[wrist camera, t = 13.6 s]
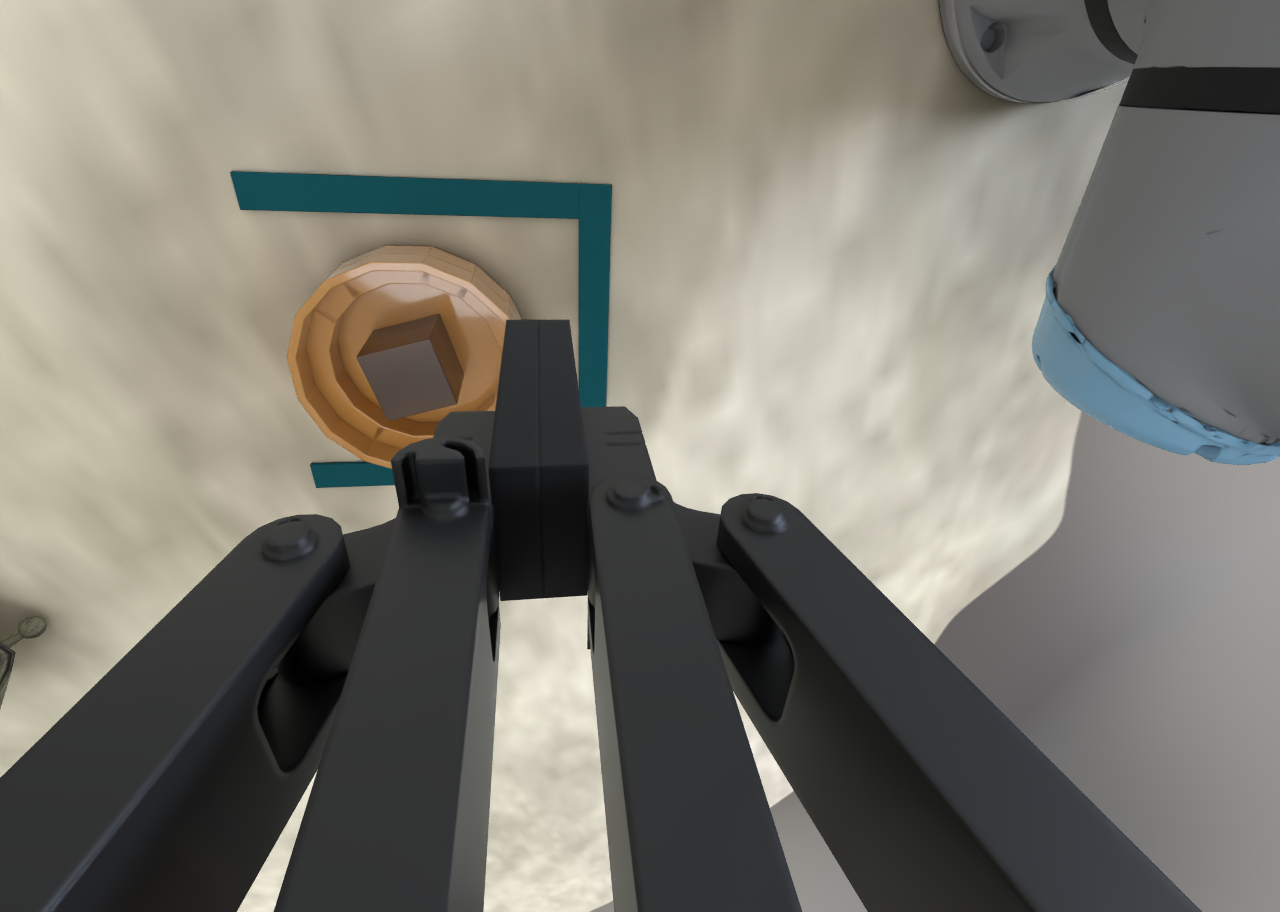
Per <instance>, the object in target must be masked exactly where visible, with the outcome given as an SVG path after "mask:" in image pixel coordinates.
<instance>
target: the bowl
mask: <svg viewBox="0 0 1280 912" xmlns="http://www.w3.org/2000/svg"><path fill="white" fill-rule="evenodd" d="M437 314H440V315H441V318H442V320H443V323H444V325H445V328H446V330H447V333H448V335H449V338H450V340H451V343H452V345H453V348H454V350H455V353H456V355H457V358H458V360H459V363H460V365H461V368H462V370H463V373H464V378H463V382H462V386H461V390H460V395H459V399H458V403H457V404H455V405H451V406H447V407H443V408H439V409H435V410H431V411H428V412H424V413H420V414H416V415H412V416H408V417H404V418H400V419H396V420H392V421H388V420H387V418H386V416H385V414H384V412H383V410H382V408H381V406H380V404H379V402H378V400H377V398H376V396H375V394H374V392H373V390H372V388H371V386H370V384H369V382H368V380H367V378H366V376H365V374H364V372H363V370H362V368H361V366H360V364H359V362H358V360H357V358H356V356H357V355H358V353H359V352H360V350H361V349H362V347H363V345H364V344H365V342H366V341H367V339H368V338H369V336H370V334H371V333H372V331H373V330H377V329H381V328H385V327H389V326H393V325H397V324H401V323H405V322H409V321H413V320H417V319H421V318H425V317H429V316H433V315H437ZM506 320H522V319H521V317H520V315H519V313H518V311H517V309H516V307H515V304H514V302H513V300H512V298H511V297H510V295H509V294H508V293H506V292H505V291H504V290H503V289H502V288H501V287H500V286H499V285H498V284H497V283H496V282H495V281H494V280H492V279H491V278H490V277H489V276H488V275H487V274H486V273H485V272H484V271H483V270H482V269H481V268H479V267H478V266H477V265H476V264H473V263H471V262H468V261H466V260H464V259H461V258H459V257H456V256H454V255H451V254H449V253H446V252H444V251H442V250H439V249H437V248H434V247H429V246H382V247H380V248H377V249H375V250H373V251H370V252H368V253H365V254H363V255H360V256H358V257H356V258H353V259H351V260H348V261H346V262H344V263H342V264H341V265H340V266H339V267H338V268H337V269H336V270H335V271H334V272H333V273H332V274H331V275H330V276H329V277H328V278H327V279H326V280H325V281H324V282H323V283H322V284H321V285H320V286H319V288H318V289H317V290H316V291H315V292H314V293H313V295H312V296H311V297H310V298H309V299H308V300H307V302H306V303H305V304H304V305H303V306H302V307H301V309H300V310H299V311H298V312H297V313H296V315H295V319H294V324H293V329H292V333H291V338H290V343H289V348H288V353H287V360H288V364H289V368H290V372H291V375H292V379H293V383H294V387H295V390H296V394H297V398H298V400H299V402H300V403H301V404H302V406H303V407H304V408H305V410H306V411H307V412H308V413H309V415H310V416H311V417H312V419H313V420H314V421H315V423H316V424H317V425H318V426H319V428H320V429H321V430H322V432H323V433H324V434H325V435H326V436H327V437H328V438H330V439H331V440H333V441H334V442H336V443H337V444H339V445H340V446H342V447H343V448H345V449H346V450H348V451H350V452H351V453H353V454H354V455H356V456H357V457H359V458H360V459H362V460H363V461H366V462H370V463H373V464H377V465H380V466H384V467H387V468H391V469H392V466H391V460H392V458H393V457H394V456H395V454H396V453H397V452H398V451H399V450H401V449H403V448H404V447H406V446H408V445H409V444H412V443H415V442H418V441H421V440H424V439H429V438H433V436H434V432H435V429H436V425H437V424H438V423H439V422H440V421H441V420H442V419H443V418H444V417H446V416H447V415H448V414H449V413H450V412H459V411H495V409H496V401H497V392H498V384H499V376H500V368H501V359H502V351H503V343H504V335H505V327H506Z"/></svg>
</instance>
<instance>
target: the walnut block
mask: <svg viewBox="0 0 1280 912" xmlns="http://www.w3.org/2000/svg"><path fill="white" fill-rule="evenodd" d="M356 358H357V360H358V362H359V364H360V366H361V368H362V370H363V372H364V374H365V376H366V378H367V380H368V382H369V384H370V386H371V388H372V390H373V392H374V394H375V396H376V398H377V400H378V402H379V404H380V406H381V408H382V410H383V412H384V414H385V416H386V418H387V420H388V421H392V420H396V419H400V418H404V417H408V416H412V415H416V414H420V413H424V412H428V411H431V410H435V409H439V408H443V407H447V406H451V405H455V404H457V403H458V399H459V395H460V390H461V386H462V382H463V378H464V373H463V370H462V368H461V365H460V363H459V360H458V358H457V355H456V353H455V350H454V348H453V345H452V343H451V340H450V338H449V335H448V333H447V330H446V328H445V325H444V323H443V320H442V318H441V315H440V314H437V315H433V316H429V317H425V318H421V319H417V320H413V321H409V322H405V323H401V324H397V325H393V326H389V327H385V328H381V329H377V330H373V331H372V333H371V334H370V336H369V338H368V339H367V341H366V342H365V344H364V345H363V347H362V349H361V350H360V352H359V353H358V355H357V356H356Z"/></svg>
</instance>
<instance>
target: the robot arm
mask: <svg viewBox="0 0 1280 912" xmlns="http://www.w3.org/2000/svg"><path fill="white" fill-rule="evenodd" d="M939 2H940V12H941V19H942V24H943V29H944V33H945V36H946V40H947V43H948V45H949V48H950V50H951V53H952V55H953V57H954V59H955V60H956V62H957V64H958V66H959V67H960V68H961V70H962V71H963V73H964V74H965V75H966V76H967V77H968V78H969V79H970V81H971V82H972V83H974V84H975V85H976V86H977V87H979V88H980V89H981V90H983V91H985V92H986V93H988V94H990V95H992V96H994V97H997V98H999V99H1003V100H1007V101H1013V102H1022V103H1049V102H1057V101H1061V100H1067V99H1072V98H1075V99H1078V98H1081V97H1084V96H1087V95H1090V94H1093V93H1096V92H1099V91H1102V90H1105V89H1108V88H1111V87H1114V86H1117V85H1119V84H1122V83H1124V82H1122V83H1119V84H1116V85H1113V86H1110V87H1107V88H1104V89H1101V88H1103V87H1105V86H1108V85H1110V84H1113V83H1115V82H1118V81H1120V80H1123V79H1125V78H1127V77H1130V78H1129V80H1128V83H1127V86H1126V89H1125V91H1124V94H1123V97H1122V99H1121V102H1120V104H1119V106H1118V108H1117V110H1116V113H1115V116H1114V118H1113V121H1112V123H1111V126H1110V129H1109V131H1108V134H1107V137H1106V139H1105V142H1104V144H1103V147H1102V150H1101V152H1100V155H1099V158H1098V160H1097V163H1096V165H1095V168H1094V171H1093V173H1092V176H1091V179H1090V181H1089V184H1088V186H1087V189H1086V192H1085V194H1084V197H1083V199H1082V202H1081V204H1080V207H1079V209H1078V212H1077V214H1076V217H1075V219H1074V222H1073V224H1072V227H1071V229H1070V232H1069V234H1068V237H1067V239H1066V242H1065V244H1064V247H1063V249H1062V252H1061V254H1060V257H1059V259H1058V262H1057V264H1056V265H1055V266H1054V268H1053V270H1052V271H1051V272H1050V273H1049V276H1048V278H1047V281H1046V298H1045V301H1044V304H1043V307H1042V310H1041V313H1040V316H1039V319H1038V322H1037V325H1036V328H1035V331H1034V335H1033V340H1032V351H1033V356H1034V359H1035V361H1036V364H1037V366H1038V368H1039V369H1040V370H1041V371H1042V374H1043V376H1044V378H1045V379H1046V381H1047V382H1048V383H1049V384H1050V385H1051V386H1052V388H1053V389H1054V390H1056V391H1057V392H1058V393H1059V394H1060V395H1061V396H1062V397H1063V398H1065V399H1066V400H1067V401H1068V402H1070V403H1071V404H1072V405H1074V406H1075V407H1077V408H1078V409H1080V410H1081V411H1083V412H1084V413H1086V414H1087V415H1089V416H1091V417H1093V418H1094V419H1096V420H1098V421H1100V422H1101V423H1103V424H1105V425H1107V426H1109V427H1111V428H1113V429H1115V430H1117V431H1119V432H1121V433H1123V434H1126V435H1128V436H1130V437H1132V438H1134V439H1137V440H1139V441H1142V442H1144V443H1147V444H1149V445H1152V446H1155V447H1158V448H1161V449H1164V450H1167V451H1170V452H1174V453H1177V454H1181V455H1189V454H1191V453H1193V452H1194V453H1196V454H1198V455H1200V456H1202V457H1204V458H1205V459H1207V460H1209V461H1211V462H1217V463H1223V464H1233V465H1250V464H1258V463H1266V462H1269V461H1272V460H1274V459H1276V458H1278V457H1280V0H939ZM1125 82H1127V81H1125ZM1098 89H1101V90H1098ZM1096 90H1098V91H1096ZM1093 91H1094V92H1093ZM1082 95H1083V96H1082ZM1079 96H1080V97H1079ZM1076 97H1078V98H1076ZM1075 99H1073V100H1075ZM1070 101H1072V100H1070ZM1068 102H1069V101H1068ZM391 466H392V471H393V476H394V482H395V487H396V492H397V497H398V503H399V510H398V513H397V516H396V518H395V519H393V520H391V521H388V522H386V523H384V524H381V525H378V526H375V527H372V528H368V529H364V530H360V531H356V532H352V533H348V534H344V535H343V533H342V530H341V526H340V525H339V524H338V523H337V522H335V521H334V520H333V519H332V518H328V517H324V516H321V515H317V514H315V515H295V516H290V517H285V518H282V519H278V520H275V521H273V522H271V523H268V524H266V525H264V526H262V527H259V528H258V529H257V530H255V531H254V532H252V533H251V534H250V535H248V536H247V537H246V538H244V539H243V540H242V541H241V542H240V543H239V544H238V545H237V546H236V547H235V548H234V549H233V550H232V551H231V552H230V553H229V554H228V555H227V556H226V557H225V558H224V559H223V560H222V561H221V562H220V563H219V564H218V565H217V566H216V567H215V568H214V569H213V570H212V571H211V572H210V573H209V574H208V575H207V576H206V577H205V578H204V579H203V580H202V581H201V582H200V583H199V584H197V585H196V586H195V587H194V588H193V589H192V590H191V591H190V592H189V593H188V594H187V595H186V596H185V597H184V598H183V599H182V600H181V601H180V602H179V603H178V604H177V605H176V606H175V607H174V608H173V609H172V610H171V611H170V612H169V613H168V614H167V615H166V616H165V617H164V618H163V619H162V620H161V621H160V622H159V623H158V624H157V625H156V626H155V627H154V628H153V629H152V630H151V631H150V632H149V633H148V634H147V635H146V636H145V637H143V638H142V639H141V640H140V641H139V642H138V643H137V644H136V645H135V646H134V647H133V648H132V649H131V650H130V651H129V652H128V653H127V654H126V655H125V656H124V657H123V658H122V659H121V660H120V661H119V662H118V663H117V664H116V665H115V666H114V667H113V668H112V669H111V670H110V671H109V672H108V673H107V674H106V675H105V676H104V677H103V678H102V679H101V680H100V681H99V682H98V683H97V684H96V685H95V686H94V687H93V688H92V689H91V690H89V691H88V692H87V693H86V694H85V695H84V696H83V697H82V698H81V699H80V700H79V701H78V702H77V703H76V704H75V705H74V706H73V707H72V708H71V709H70V710H69V711H68V712H67V713H66V714H65V715H64V716H63V717H62V718H61V719H60V720H59V721H58V722H57V723H56V724H55V725H54V726H53V727H52V728H51V729H50V730H49V731H48V732H47V733H46V734H45V735H44V736H43V737H42V738H41V739H40V740H39V741H38V742H37V743H35V744H34V745H33V746H32V747H31V748H30V749H29V750H28V751H27V752H26V753H25V754H24V755H23V756H22V757H21V758H20V759H19V760H18V761H17V762H16V763H15V764H14V765H13V766H12V767H11V768H10V769H9V770H8V771H7V772H6V773H5V774H4V775H3V776H2V777H1V778H0V912H237V910H238V908H239V907H240V905H241V903H242V901H243V900H244V898H245V896H246V894H247V893H248V891H249V889H250V887H251V885H252V884H253V882H254V880H255V878H256V877H257V875H258V873H259V871H260V870H261V868H262V866H263V864H264V863H265V861H266V859H267V857H268V856H269V854H270V852H271V850H272V849H273V847H274V845H275V843H276V842H277V840H278V838H279V836H280V835H281V833H282V831H283V829H284V827H285V826H286V824H287V822H288V820H289V819H290V817H291V815H292V813H293V812H294V810H295V808H296V806H297V805H298V803H299V801H300V799H301V798H302V796H303V794H304V792H305V791H306V789H307V787H308V785H309V784H310V782H311V780H312V778H313V777H314V775H315V773H316V771H317V769H318V771H317V774H316V777H315V780H314V784H313V787H312V790H311V793H310V796H309V800H308V803H307V806H306V809H305V813H304V816H303V819H302V822H301V825H300V829H299V832H298V835H297V838H296V842H295V845H294V848H293V851H292V854H291V858H290V861H289V864H288V867H287V871H286V874H285V877H284V880H283V883H282V887H281V890H280V893H279V896H278V899H277V903H276V906H275V909H274V912H483V907H484V890H485V874H486V857H487V841H488V824H489V808H490V791H491V775H492V759H493V742H494V726H495V709H496V693H497V676H498V660H499V644H500V627H501V623H500V612H499V590H500V600H501V601H507V600H523V599H538V598H554V597H569V596H585V595H587V590H588V642H587V649H591V659H592V670H593V681H594V692H595V703H596V714H597V726H598V737H599V748H600V759H601V770H602V781H603V792H604V803H605V814H606V825H607V836H608V847H609V858H610V869H611V880H612V891H613V902H614V912H802V910H801V906H800V903H799V901H798V897H797V894H796V891H795V887H794V884H793V881H792V878H791V875H790V872H789V868H788V865H787V862H786V859H785V856H784V852H783V849H782V846H781V843H780V840H779V837H778V833H777V831H776V827H775V824H774V821H773V817H772V814H771V811H770V808H769V805H768V802H767V798H766V795H765V792H764V789H763V786H762V783H761V779H760V776H759V773H758V770H757V767H756V763H755V760H754V757H753V754H752V751H751V748H750V744H749V741H748V738H747V735H746V732H745V729H744V725H743V722H742V719H741V716H740V713H739V709H738V706H737V703H736V700H735V697H734V694H733V691H734V693H735V695H736V696H737V698H738V700H739V701H740V703H741V705H742V706H743V708H744V709H745V711H746V713H747V714H748V716H749V718H750V719H751V721H752V723H753V724H754V726H755V727H756V729H757V731H758V732H759V734H760V736H761V737H762V739H763V741H764V742H765V744H766V746H767V747H768V749H769V750H770V752H771V754H772V755H773V757H774V759H775V760H776V762H777V764H778V765H779V767H780V768H781V770H782V772H783V773H784V775H785V777H786V778H787V780H788V782H789V783H790V785H791V786H792V788H793V790H794V791H795V793H796V795H797V796H798V798H799V799H800V801H801V803H802V804H803V806H804V808H805V809H806V811H807V813H808V814H809V816H810V818H811V819H812V821H813V823H814V824H815V826H816V827H817V829H818V831H819V832H820V834H821V836H822V837H823V839H824V841H825V842H826V844H827V845H828V847H829V849H830V850H831V852H832V854H833V855H834V857H835V859H836V860H837V862H838V863H839V865H840V866H841V868H842V870H843V872H844V873H845V875H846V877H847V878H848V880H849V882H850V883H851V885H852V886H853V888H854V890H855V891H856V893H857V895H858V896H859V898H860V899H861V901H862V903H863V905H864V906H865V908H866V909H867V911H868V912H1202V911H1201V910H1200V909H1199V908H1198V907H1197V906H1195V904H1194V903H1193V902H1192V901H1191V900H1190V899H1189V898H1188V897H1187V896H1185V894H1183V892H1182V891H1181V890H1180V889H1179V888H1178V887H1176V885H1175V884H1174V883H1173V882H1172V881H1171V880H1170V879H1168V877H1167V876H1166V875H1165V874H1164V873H1163V872H1162V871H1161V870H1160V869H1159V868H1158V867H1157V866H1156V865H1155V864H1154V863H1152V861H1151V860H1149V858H1147V856H1146V855H1145V854H1144V853H1143V852H1142V851H1141V850H1139V848H1138V847H1137V846H1135V845H1134V844H1133V842H1132V841H1131V840H1129V838H1127V836H1125V835H1124V834H1123V833H1122V832H1121V831H1120V830H1119V829H1118V828H1117V827H1116V826H1115V825H1114V824H1113V823H1112V822H1111V821H1110V820H1109V819H1108V818H1107V817H1106V816H1105V815H1104V814H1103V813H1102V812H1101V811H1100V810H1099V809H1098V808H1097V807H1096V806H1095V805H1094V804H1093V803H1092V802H1091V801H1090V800H1089V799H1088V798H1087V797H1086V796H1085V795H1084V794H1083V793H1082V792H1081V791H1080V790H1079V789H1078V788H1077V787H1076V786H1075V785H1074V784H1073V783H1072V782H1071V781H1070V780H1069V779H1068V778H1067V777H1066V776H1065V775H1064V774H1063V773H1062V772H1061V771H1060V770H1059V769H1058V768H1057V767H1056V766H1055V765H1054V764H1053V763H1052V762H1051V761H1050V760H1049V759H1048V758H1047V757H1046V756H1045V755H1044V754H1043V753H1042V752H1041V751H1040V750H1039V749H1038V748H1037V747H1036V746H1035V745H1034V744H1033V743H1032V742H1031V741H1030V740H1029V739H1028V738H1027V737H1026V736H1025V735H1024V734H1023V733H1022V732H1021V731H1020V730H1019V729H1018V728H1017V727H1016V726H1015V725H1014V724H1013V723H1012V722H1011V721H1010V720H1009V719H1008V718H1007V717H1006V716H1005V715H1004V714H1003V713H1002V712H1001V711H1000V710H999V709H998V708H997V707H996V706H995V705H994V704H993V703H992V702H991V701H990V700H989V699H988V698H987V697H986V696H985V695H984V694H983V693H982V692H981V691H980V690H979V689H978V688H977V687H976V686H975V685H974V684H973V683H972V682H971V681H970V680H969V679H968V678H967V677H966V676H965V675H964V674H963V673H962V672H961V671H960V670H959V669H958V668H957V667H956V666H955V665H954V664H953V663H952V662H951V661H950V660H949V659H948V658H947V657H946V656H945V655H944V654H943V653H942V652H941V651H940V650H939V649H938V648H937V647H936V646H935V645H934V644H933V643H932V642H931V641H930V640H929V639H928V638H927V637H926V636H925V635H924V634H923V633H922V632H921V631H920V630H919V629H918V628H917V627H916V626H915V625H914V624H913V623H912V622H911V621H910V620H909V619H908V618H907V617H906V616H905V615H904V614H903V613H902V612H901V611H900V610H899V609H898V608H897V607H896V606H895V605H894V604H893V603H892V602H891V601H890V600H889V599H888V598H887V597H886V596H885V595H884V594H883V593H882V592H881V591H880V590H879V589H878V588H877V587H876V586H875V585H874V584H873V583H872V582H871V581H870V580H869V579H868V578H867V577H866V576H865V575H864V574H863V573H862V572H861V571H860V570H859V569H858V568H857V567H856V566H855V565H854V564H853V563H852V562H851V561H850V560H849V559H848V558H847V557H846V556H845V555H844V554H843V553H842V552H841V551H840V550H839V549H838V548H837V547H836V546H835V545H834V544H833V543H832V542H831V541H830V540H829V539H828V538H827V537H826V536H825V535H824V534H823V533H822V532H821V531H820V530H819V529H818V528H817V527H816V526H815V525H814V524H813V523H812V522H811V521H810V520H809V519H808V518H807V517H806V516H805V515H804V514H803V513H802V512H800V511H799V510H798V509H797V508H795V507H794V506H793V505H791V504H790V503H789V502H787V501H784V500H782V499H779V498H777V497H774V496H770V495H764V494H758V493H754V494H741V495H739V496H736V497H733V498H730V499H729V500H728V501H727V502H726V503H725V504H724V505H723V506H722V510H721V515H720V514H714V513H708V512H702V511H697V510H693V509H689V508H686V507H683V506H681V505H678V504H676V503H674V502H673V500H672V497H671V494H670V493H669V491H668V490H667V488H666V487H665V486H664V485H662V484H661V483H659V482H657V481H656V477H655V474H654V471H653V467H652V464H651V460H650V457H649V454H648V450H647V447H646V445H645V440H644V437H643V434H642V430H641V427H640V423H639V420H638V418H637V417H636V416H635V415H634V414H633V413H632V412H630V411H629V410H628V409H627V408H626V407H581V404H580V396H579V389H578V381H577V374H576V367H575V359H574V352H573V344H572V337H571V329H570V322H569V320H506V327H505V335H504V343H503V351H502V359H501V368H500V376H499V384H498V392H497V401H496V409H495V411H459V412H450V413H449V414H448V415H447V416H446V417H444V418H443V419H442V420H441V421H440V422H439V423H438V424H437V425H436V429H435V432H434V436H433V438H429V439H424V440H421V441H418V442H415V443H412V444H409V445H408V446H406V447H404V448H403V449H401V450H399V451H398V452H397V453H396V454H395V456H394V457H393V458H392V460H391Z"/></svg>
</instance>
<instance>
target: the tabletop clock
mask: <svg viewBox="0 0 1280 912" xmlns="http://www.w3.org/2000/svg"><path fill="white" fill-rule="evenodd" d="M45 629H46V623H45V621H44V620H43V619H42V618H39V617H30V618H27V619H25V620H23V621H22V622H21V623H20V624H19V626H18V629H17V631H18V633H16V634H14V635H13V636H11V637H9V638H7V639H5V640H4V641H2V642H0V708H1V705H2V701H3V698H4V695H5V691H6V688H7V685H8V681H9V678H10V674H11V671H12V667H13V662H14V657H15V652H14V651H13V650H11V649H10V647H12V646H13V645H14V644H15V643H17V642H18V641H19V640H21V639H22V638H27V639H28V638H35V637H38V636H40V635H41V634H42V633H43V632H44V631H45Z"/></svg>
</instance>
